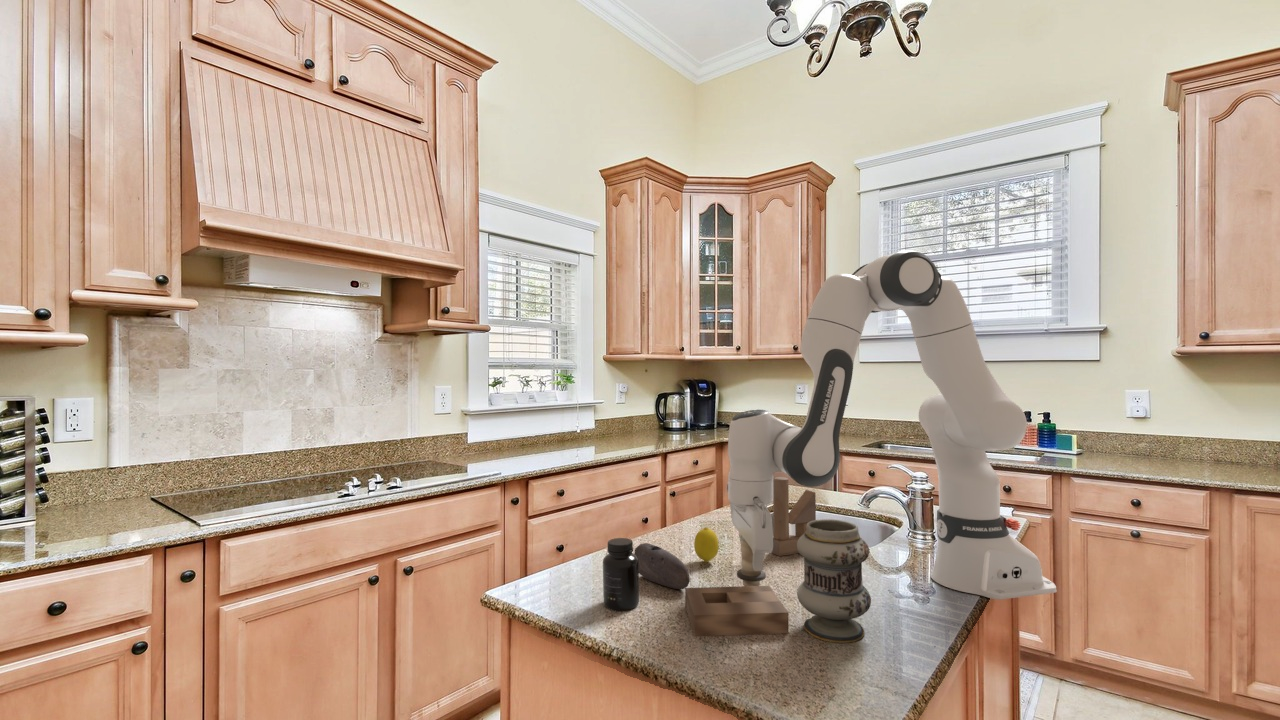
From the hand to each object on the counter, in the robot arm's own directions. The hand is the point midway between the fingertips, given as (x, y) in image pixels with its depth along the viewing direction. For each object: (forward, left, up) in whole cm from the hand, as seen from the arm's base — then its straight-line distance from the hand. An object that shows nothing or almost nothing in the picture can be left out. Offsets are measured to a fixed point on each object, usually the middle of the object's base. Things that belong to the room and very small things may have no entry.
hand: (751, 561), depth 119 cm
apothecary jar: (-10, +17, -6) cm, 21 cm away
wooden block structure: (-16, -24, -6) cm, 30 cm away
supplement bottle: (+26, +4, -6) cm, 27 cm away
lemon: (+6, -18, -6) cm, 20 cm away
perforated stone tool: (+17, -6, -6) cm, 19 cm away
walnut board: (+6, +12, -6) cm, 15 cm away
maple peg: (0, 0, -6) cm, 6 cm away
